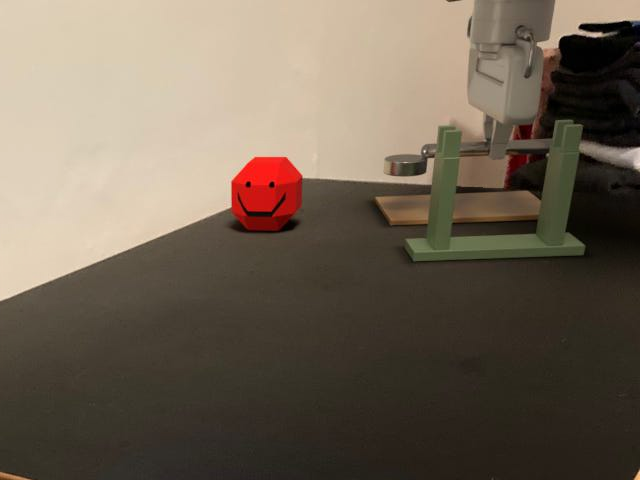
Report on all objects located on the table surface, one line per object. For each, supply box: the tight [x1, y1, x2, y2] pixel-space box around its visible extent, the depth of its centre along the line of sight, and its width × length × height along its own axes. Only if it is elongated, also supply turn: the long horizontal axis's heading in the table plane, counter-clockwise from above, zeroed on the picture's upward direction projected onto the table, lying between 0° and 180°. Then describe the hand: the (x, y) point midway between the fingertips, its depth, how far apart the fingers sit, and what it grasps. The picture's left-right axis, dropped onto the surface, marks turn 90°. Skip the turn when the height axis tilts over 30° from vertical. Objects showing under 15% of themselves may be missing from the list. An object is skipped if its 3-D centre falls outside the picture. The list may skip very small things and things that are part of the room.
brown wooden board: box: [374, 190, 541, 226], centre depth 125 cm, size 20×14×1 cm
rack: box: [404, 119, 586, 263], centre depth 104 cm, size 18×6×12 cm, turn 87°
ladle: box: [383, 138, 552, 178], centre depth 120 cm, size 22×5×3 cm, turn 88°
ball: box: [230, 156, 304, 232], centre depth 120 cm, size 8×8×8 cm
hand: (493, 156), depth 120 cm, fingers closed on ladle
